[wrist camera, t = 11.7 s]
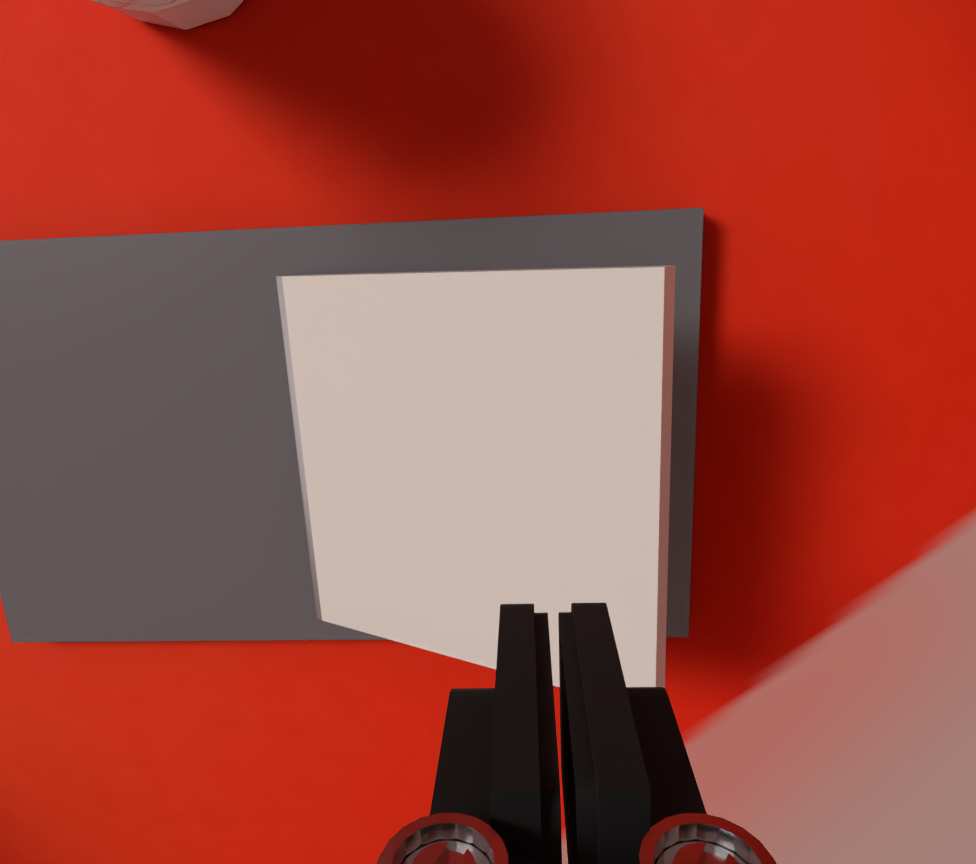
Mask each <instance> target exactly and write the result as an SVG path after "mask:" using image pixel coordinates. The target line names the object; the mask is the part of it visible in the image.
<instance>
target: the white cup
mask: <svg viewBox="0 0 976 864" xmlns="http://www.w3.org/2000/svg"><path fill="white" fill-rule="evenodd" d="M92 1H95V2H97V3H100V4H103V5H106V6H110V7H112V8H114V9H116V10H118V11H120V12H122V13H124V14H126V15H128V16H130V17H132V18H134V19H136V20H139V21H144V22H148V23H153V24H158V25H163V26H168V27H173V28H178V29H183V30H187V29H191V28H194V27H197V26H200V25H203V24H206V23H209V22H212V21H215V20H218V19H221V18H224V17H227V16H230V15H231V14H232V13H233V12H234V11H235V10H236V9H237V8H238V6H239V5H240V4H241V3H242V2H243V1H244V0H92Z"/></svg>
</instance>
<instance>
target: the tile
mask: <svg viewBox="0 0 976 864" xmlns="http://www.w3.org/2000/svg"><path fill="white" fill-rule="evenodd" d="M675 266H676V265H660V266H621V267H583V268H544V269H505V270H467V271H428V272H389V273H350V274H312V275H286V276H276V282H277V290H278V299H279V307H280V315H281V324H282V332H283V341H284V349H285V358H286V366H287V374H288V383H289V391H290V400H291V408H292V416H293V425H294V433H295V442H296V450H297V458H298V467H299V475H300V484H301V492H302V500H303V509H304V517H305V526H306V534H307V542H308V551H309V559H310V568H311V576H312V584H313V593H314V601H315V610H316V617H317V618H318V619H319V620H322V621H326V622H329V623H333V624H336V625H340V626H344V627H347V628H351V629H354V630H358V631H361V632H365V633H368V634H372V635H375V636H379V637H383V638H386V639H390V640H393V641H397V642H400V643H404V644H407V645H411V646H415V647H418V648H422V649H425V650H429V651H432V652H436V653H439V654H443V655H446V656H450V657H454V658H457V659H461V660H464V661H468V662H471V663H475V664H478V665H482V666H485V667H489V668H493V669H496V666H497V649H498V633H499V617H500V604H534V613H548V623H549V638H550V652H551V666H552V681H553V686H556V687H560V677H559V626H558V613H559V612H571V603H606V604H607V608H608V612H609V617H610V621H611V625H612V629H613V633H614V638H615V642H616V646H617V650H618V655H619V659H620V663H621V667H622V672H623V676H624V680H625V684H626V687H663V688H665V659H666V620H667V580H668V541H669V502H670V463H671V423H672V384H673V345H674V305H675Z"/></svg>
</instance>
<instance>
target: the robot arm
mask: <svg viewBox="0 0 976 864" xmlns="http://www.w3.org/2000/svg"><path fill="white" fill-rule="evenodd" d="M558 626H559V677H560V729H561V769H562V786H563V799H564V812H565V826H566V839H567V853H568V864H776V862H775V860H774V859H773V857H772V856H771V855H770V853H769V852H768V851H767V849H766V848H765V847H764V846H763V844H762V843H761V842H760V841H759V840H758V839H757V838H755V837H754V836H753V835H751V834H750V833H749V832H748V831H746V830H745V829H743V828H742V827H740V826H738V825H736V824H734V823H732V822H730V821H727V820H726V819H723V818H720V817H715V816H711V815H707V814H706V811H705V808H704V805H703V802H702V799H701V795H700V792H699V789H698V786H697V783H696V780H695V777H694V774H693V771H692V768H691V765H690V762H689V759H688V756H687V752H686V749H685V746H684V743H683V740H682V737H681V734H680V731H679V728H678V725H677V722H676V718H675V715H674V712H673V709H672V706H671V703H670V700H669V697H668V694H667V692H666V690H665V688H663V687H626V684H625V680H624V676H623V672H622V667H621V663H620V659H619V655H618V650H617V646H616V642H615V638H614V633H613V629H612V625H611V621H610V617H609V612H608V608H607V604H606V603H571V612H559V613H558ZM561 853H562V852H561V806H560V783H559V766H558V752H557V738H556V724H555V709H554V695H553V681H552V666H551V652H550V638H549V623H548V613H534V604H500V617H499V633H498V649H497V666H496V682H495V688H480V689H451V691H450V695H449V701H448V707H447V713H446V719H445V726H444V732H443V738H442V744H441V750H440V756H439V762H438V769H437V775H436V781H435V787H434V793H433V799H432V806H431V812H430V816H426V817H422V818H419V819H417V820H416V821H414V822H412V823H410V824H408V825H406V826H404V827H403V828H402V829H401V830H400V831H399V832H397V833H396V834H395V835H394V836H393V837H392V838H391V839H390V840H389V842H388V843H387V845H386V846H385V848H384V850H383V851H382V853H381V855H380V857H379V859H378V862H377V864H562V854H561Z"/></svg>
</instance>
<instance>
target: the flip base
mask: <svg viewBox="0 0 976 864" xmlns="http://www.w3.org/2000/svg"><path fill="white" fill-rule="evenodd" d="M703 211H704V208H687V209H666V210H645V211H624V212H602V213H581V214H560V215H539V216H518V217H497V218H476V219H455V220H434V221H413V222H392V223H370V224H349V225H328V226H307V227H286V228H265V229H244V230H223V231H202V232H181V233H160V234H138V235H117V236H96V237H75V238H54V239H33V240H12V241H0V595H1V599H2V603H3V607H4V611H5V615H6V619H7V623H8V627H9V631H10V635H11V639H12V642H110V641H242V640H375V639H386V638H383V637H379V636H375V635H372V634H368V633H365V632H361V631H358V630H354V629H351V628H347V627H344V626H340V625H336V624H333V623H329V622H326V621H322V620H319V619H318V618H317V617H316V610H315V601H314V593H313V584H312V576H311V568H310V559H309V551H308V542H307V534H306V526H305V517H304V509H303V500H302V492H301V484H300V475H299V467H298V458H297V450H296V442H295V433H294V425H293V416H292V408H291V400H290V391H289V383H288V374H287V366H286V358H285V349H284V341H283V332H282V324H281V315H280V307H279V299H278V290H277V282H276V276H286V275H312V274H350V273H389V272H428V271H467V270H505V269H544V268H583V267H621V266H660V265H676V266H675V305H674V345H673V384H672V423H671V463H670V502H669V541H668V580H667V620H666V637H689V613H690V584H691V556H692V527H693V498H694V470H695V441H696V412H697V383H698V355H699V326H700V297H701V269H702V240H703Z"/></svg>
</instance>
